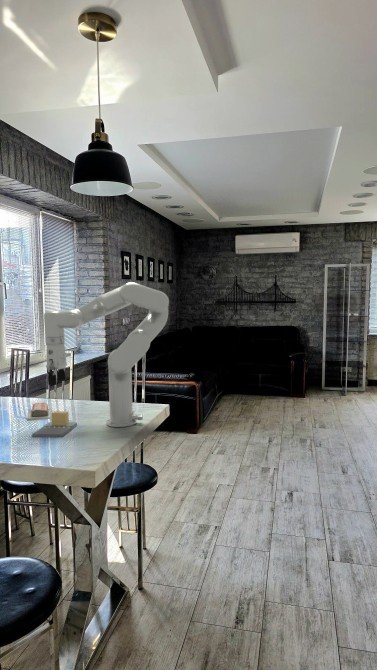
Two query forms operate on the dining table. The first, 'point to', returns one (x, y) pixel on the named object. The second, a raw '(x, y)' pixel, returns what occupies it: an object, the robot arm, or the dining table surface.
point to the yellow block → (60, 420)
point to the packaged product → (39, 412)
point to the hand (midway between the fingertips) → (57, 382)
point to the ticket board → (52, 432)
